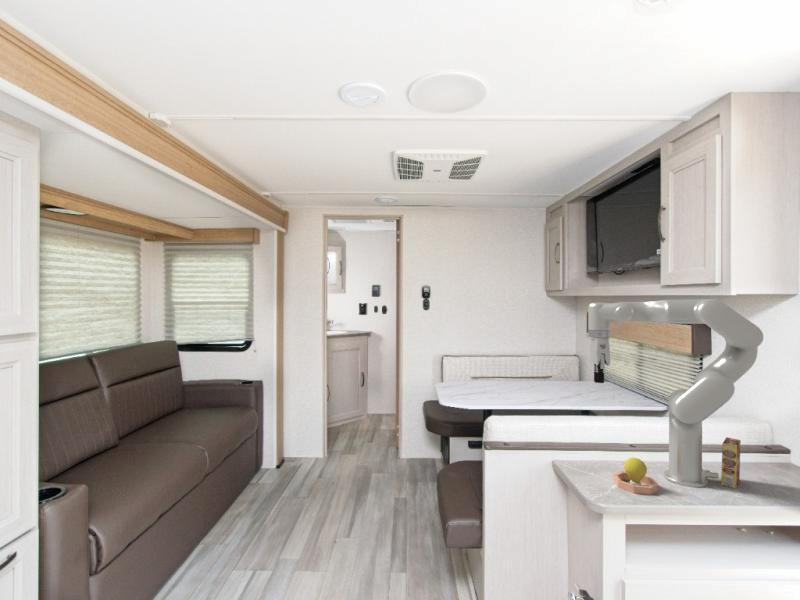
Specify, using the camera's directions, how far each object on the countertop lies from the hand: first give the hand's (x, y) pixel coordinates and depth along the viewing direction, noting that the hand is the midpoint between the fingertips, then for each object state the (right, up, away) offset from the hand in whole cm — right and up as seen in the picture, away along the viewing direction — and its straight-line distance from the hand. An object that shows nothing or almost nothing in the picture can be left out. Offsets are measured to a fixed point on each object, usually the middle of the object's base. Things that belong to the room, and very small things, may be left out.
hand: (598, 382), depth 154 cm
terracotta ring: (+3, -32, -18) cm, 37 cm away
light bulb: (+4, -32, -18) cm, 37 cm away
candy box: (+38, -32, -16) cm, 52 cm away
